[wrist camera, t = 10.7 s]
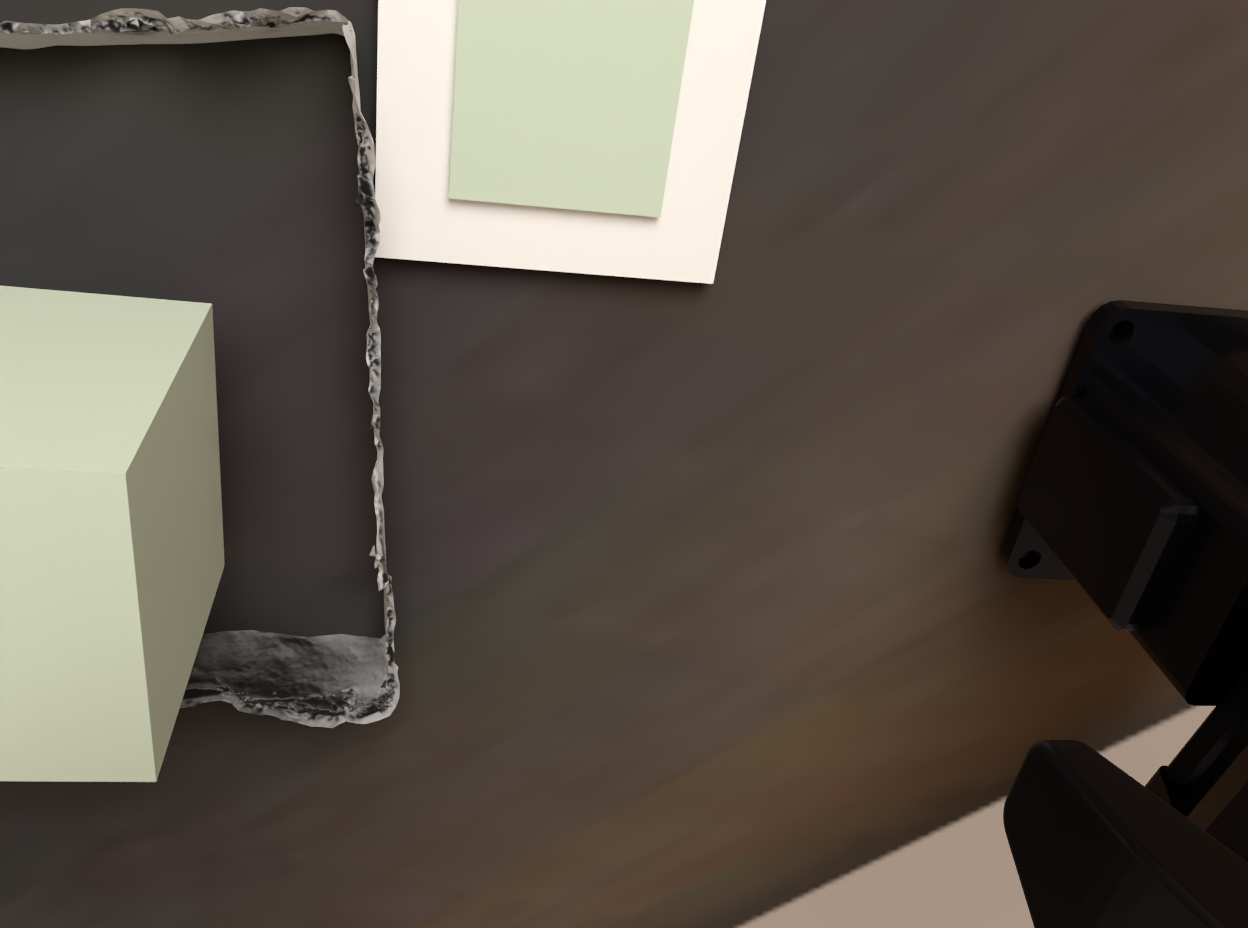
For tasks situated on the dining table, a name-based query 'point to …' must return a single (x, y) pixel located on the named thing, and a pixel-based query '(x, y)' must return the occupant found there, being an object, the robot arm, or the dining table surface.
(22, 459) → the sage block
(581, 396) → the dining table surface
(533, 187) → the card
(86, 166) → the dining table surface
